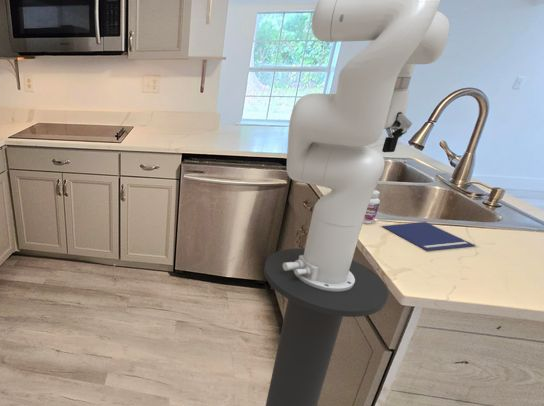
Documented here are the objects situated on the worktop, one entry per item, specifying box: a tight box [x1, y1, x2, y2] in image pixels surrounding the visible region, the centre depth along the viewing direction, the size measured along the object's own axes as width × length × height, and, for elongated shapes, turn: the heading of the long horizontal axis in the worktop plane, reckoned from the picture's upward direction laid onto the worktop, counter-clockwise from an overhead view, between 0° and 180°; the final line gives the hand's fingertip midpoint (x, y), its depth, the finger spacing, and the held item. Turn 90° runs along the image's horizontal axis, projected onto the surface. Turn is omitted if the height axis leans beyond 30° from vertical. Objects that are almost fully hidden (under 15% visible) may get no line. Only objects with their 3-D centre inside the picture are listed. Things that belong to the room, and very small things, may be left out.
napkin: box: [382, 221, 476, 252], centre depth 101 cm, size 14×14×1 cm
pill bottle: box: [362, 189, 381, 224], centre depth 109 cm, size 5×5×10 cm
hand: (373, 147), depth 102 cm, fingers open, 9 cm apart
